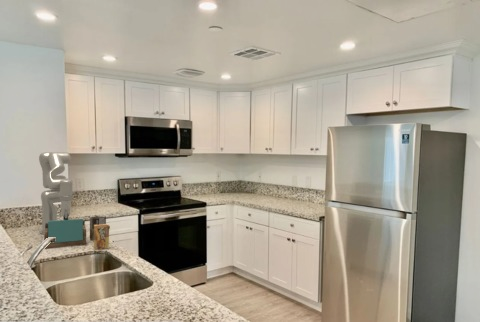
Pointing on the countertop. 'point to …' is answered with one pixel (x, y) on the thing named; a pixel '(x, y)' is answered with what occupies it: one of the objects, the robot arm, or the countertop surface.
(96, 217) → the coffee box
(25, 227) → the countertop surface
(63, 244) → the hinged box
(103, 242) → the candy box
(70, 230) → the panel
